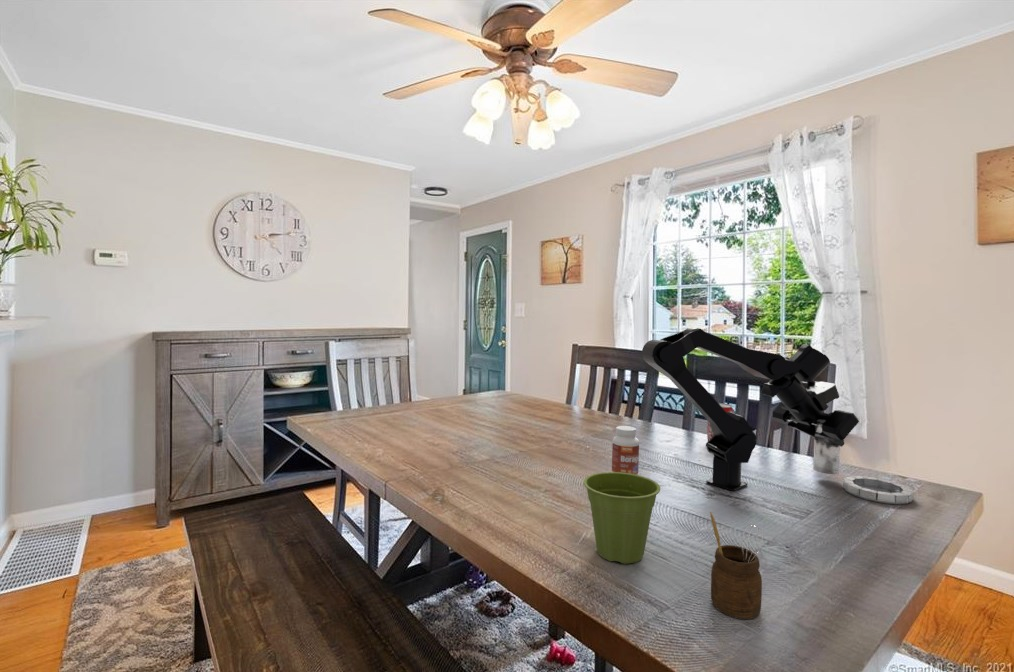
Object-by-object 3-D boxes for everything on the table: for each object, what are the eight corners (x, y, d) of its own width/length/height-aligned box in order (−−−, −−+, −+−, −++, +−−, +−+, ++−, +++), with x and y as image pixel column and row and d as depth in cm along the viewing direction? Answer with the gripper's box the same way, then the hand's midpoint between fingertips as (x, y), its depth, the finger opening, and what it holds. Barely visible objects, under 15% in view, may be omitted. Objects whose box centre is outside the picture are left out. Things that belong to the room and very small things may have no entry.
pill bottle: (620, 479, 110) (621, 431, 109) (606, 471, 116) (607, 425, 115) (643, 477, 112) (644, 430, 111) (629, 468, 117) (630, 424, 117)
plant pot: (671, 552, 76) (673, 482, 76) (636, 582, 67) (638, 504, 67) (605, 529, 84) (607, 466, 84) (567, 553, 75) (568, 483, 75)
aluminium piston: (834, 475, 107) (836, 422, 107) (809, 469, 111) (811, 418, 111) (842, 471, 110) (844, 420, 110) (818, 465, 114) (820, 416, 114)
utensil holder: (768, 623, 59) (771, 528, 58) (714, 617, 60) (717, 523, 59) (752, 596, 64) (755, 508, 64) (703, 590, 66) (705, 505, 65)
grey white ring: (902, 509, 94) (903, 499, 94) (835, 491, 103) (836, 483, 103) (918, 496, 101) (919, 487, 101) (854, 480, 110) (854, 472, 110)
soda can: (730, 450, 135) (731, 408, 134) (704, 446, 139) (705, 405, 138) (735, 445, 140) (737, 404, 140) (710, 441, 145) (711, 401, 144)
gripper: (853, 375, 100) (893, 426, 103) (784, 366, 118) (819, 409, 121) (820, 414, 98) (861, 464, 101) (755, 398, 117) (792, 441, 120)
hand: (832, 442), depth 111 cm, fingers closed on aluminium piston, 5 cm apart
